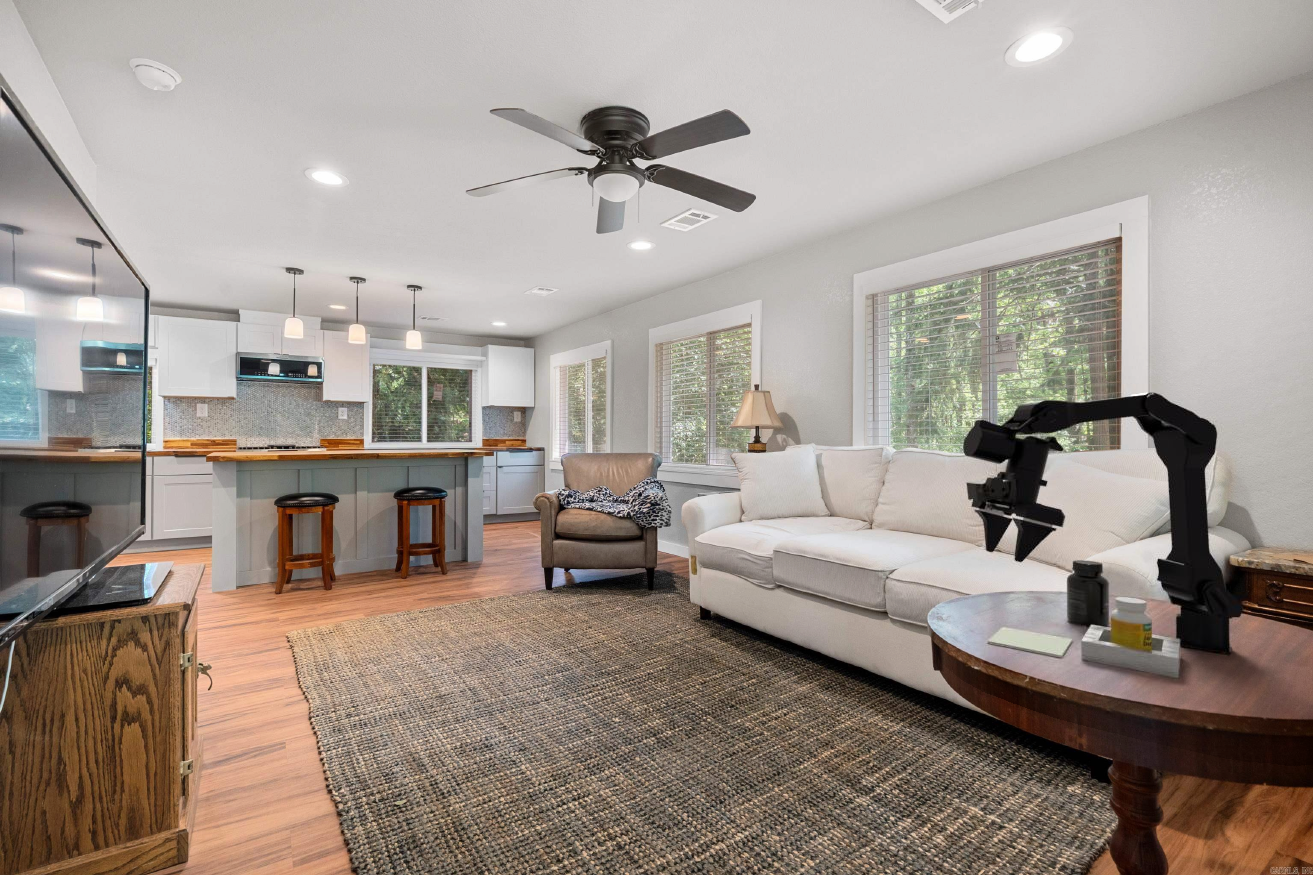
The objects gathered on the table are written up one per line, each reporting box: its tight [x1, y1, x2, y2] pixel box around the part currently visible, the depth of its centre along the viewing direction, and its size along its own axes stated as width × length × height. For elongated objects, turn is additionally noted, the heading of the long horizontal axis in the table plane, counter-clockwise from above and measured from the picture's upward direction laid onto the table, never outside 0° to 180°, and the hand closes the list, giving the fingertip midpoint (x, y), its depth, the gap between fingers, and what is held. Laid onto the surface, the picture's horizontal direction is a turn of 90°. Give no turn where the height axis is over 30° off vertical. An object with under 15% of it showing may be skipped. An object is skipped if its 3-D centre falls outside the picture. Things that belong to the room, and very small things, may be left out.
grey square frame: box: [1080, 625, 1181, 679], centre depth 99 cm, size 12×12×3 cm
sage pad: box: [987, 626, 1073, 659], centre depth 107 cm, size 11×11×1 cm
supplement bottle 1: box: [1066, 559, 1110, 628], centre depth 119 cm, size 7×7×12 cm
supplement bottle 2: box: [1110, 596, 1153, 650], centre depth 99 cm, size 5×5×10 cm
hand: (1003, 556), depth 106 cm, fingers open, 9 cm apart
